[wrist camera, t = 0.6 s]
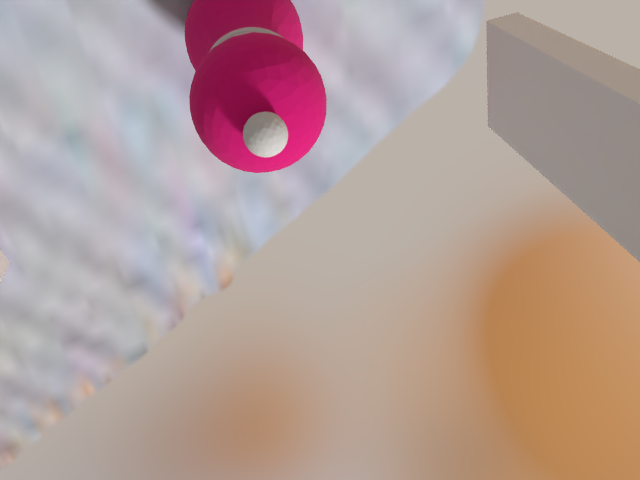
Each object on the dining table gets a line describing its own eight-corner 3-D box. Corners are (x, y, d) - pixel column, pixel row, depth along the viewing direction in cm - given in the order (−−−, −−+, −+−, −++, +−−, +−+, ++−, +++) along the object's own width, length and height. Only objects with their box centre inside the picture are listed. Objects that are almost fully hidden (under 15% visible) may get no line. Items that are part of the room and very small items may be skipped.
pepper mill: (212, 89, 38) (215, 246, 22) (168, -15, 34) (132, 86, 18) (306, 56, 38) (377, 191, 22) (273, -52, 34) (333, 16, 18)
